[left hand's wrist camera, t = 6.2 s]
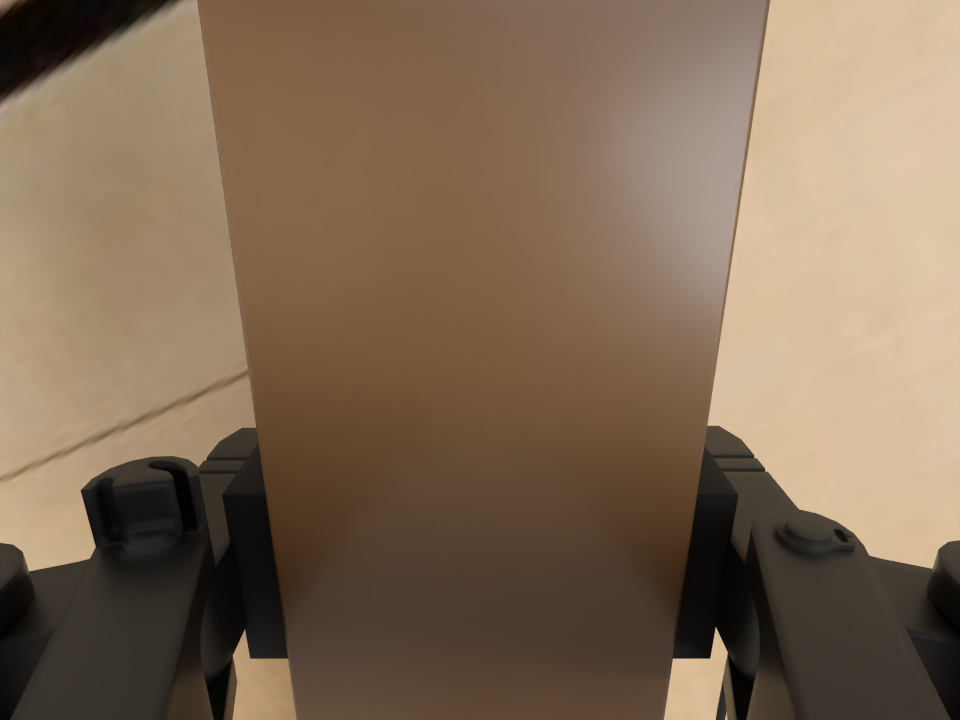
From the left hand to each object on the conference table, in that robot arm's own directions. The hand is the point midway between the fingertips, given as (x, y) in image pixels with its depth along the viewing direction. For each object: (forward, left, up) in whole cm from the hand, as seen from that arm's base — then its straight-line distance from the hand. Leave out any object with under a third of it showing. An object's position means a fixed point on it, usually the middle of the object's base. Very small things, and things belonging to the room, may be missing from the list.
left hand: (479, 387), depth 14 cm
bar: (+20, +4, -1) cm, 20 cm away
